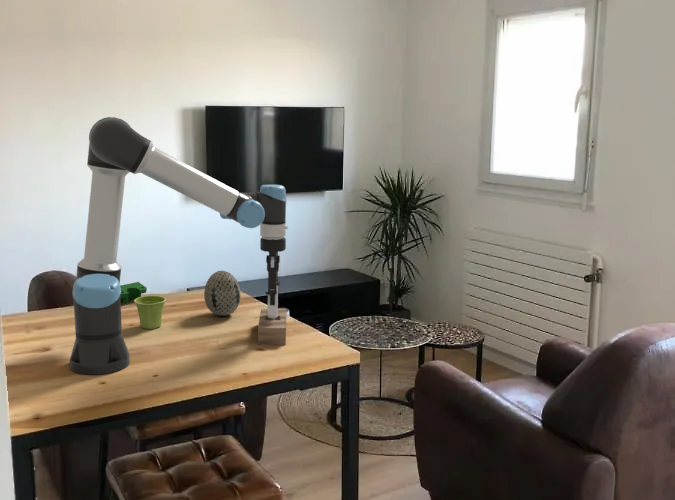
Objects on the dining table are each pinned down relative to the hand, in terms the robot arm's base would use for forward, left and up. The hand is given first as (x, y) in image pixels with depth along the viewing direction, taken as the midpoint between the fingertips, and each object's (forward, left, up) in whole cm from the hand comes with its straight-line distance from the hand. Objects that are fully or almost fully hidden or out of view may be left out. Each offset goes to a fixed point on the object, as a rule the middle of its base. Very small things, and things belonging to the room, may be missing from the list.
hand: (272, 310), depth 220 cm
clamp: (+35, +51, -8) cm, 62 cm away
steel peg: (0, 0, -7) cm, 7 cm away
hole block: (0, 0, -7) cm, 7 cm away
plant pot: (+7, +38, -7) cm, 39 cm away
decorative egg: (+19, +17, -7) cm, 27 cm away
